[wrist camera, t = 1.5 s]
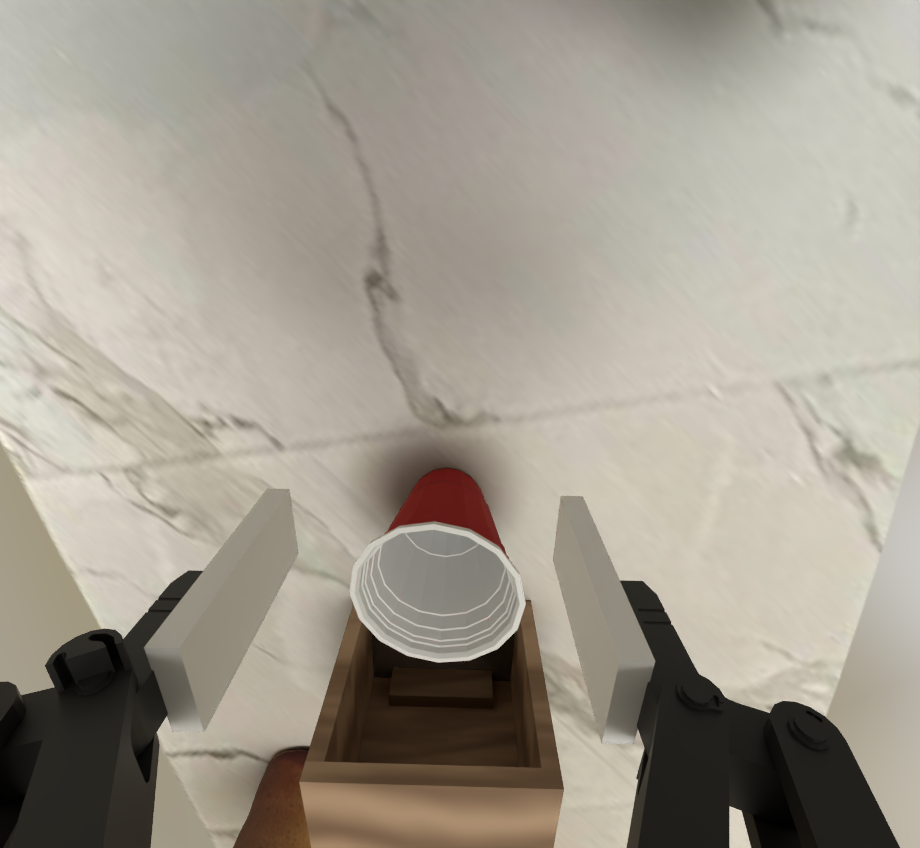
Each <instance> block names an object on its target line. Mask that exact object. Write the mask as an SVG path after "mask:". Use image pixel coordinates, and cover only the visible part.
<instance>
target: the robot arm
mask: <svg viewBox="0 0 920 848" xmlns="http://www.w3.org/2000/svg"><path fill="white" fill-rule="evenodd" d="M297 555H298V546H297V539H296V532H295V525H294V518H293V511H292V504H291V497H290V490H289V489H267V490H266V491H265V493H264V494H263V495H262V496H261V498H260V499H259V500H258V502H257V503H256V504H255V505H254V507H253V508H252V509H251V511H250V512H249V513H248V514H247V516H246V517H245V518H244V520H243V521H242V522H241V523H240V525H239V526H238V527H237V529H236V530H235V531H234V532H233V534H232V535H231V536H230V538H229V539H228V540H227V541H226V543H225V544H224V545H223V547H222V548H221V549H220V550H219V552H218V553H217V554H216V556H215V557H214V558H213V559H212V561H211V562H210V563H209V565H208V566H207V567H206V568H205V570H204V571H187V572H186V573H184V574H183V575H182V576H180V577H179V578H177V579H176V580H174V581H173V582H172V583H170V585H169V586H168V587H167V588H166V589H165V591H164V592H163V593H162V594H161V595H160V596H159V599H158V600H156V601H155V602H154V604H153V605H152V606H151V607H150V608H149V611H148V613H145V614H144V615H143V617H142V618H141V619H140V620H139V621H138V623H137V624H136V625H135V626H134V627H133V628H132V630H131V631H130V632H129V633H128V634H127V636H126V637H125V638H124V639H123V638H122V636H121V634H120V633H118V632H117V631H116V630H111V629H100V630H94V631H90V632H88V633H85V634H82V635H80V636H77V637H75V638H74V639H72V640H70V641H69V642H67V643H65V644H64V645H62V646H61V647H60V648H59V649H58V650H57V651H56V652H54V653H53V654H52V655H51V657H50V658H49V660H48V662H47V663H46V665H45V667H46V669H47V671H48V673H49V675H50V678H51V680H52V682H53V684H54V686H55V687H54V688H50V689H46V690H42V691H38V692H34V693H29V694H25V695H21V694H20V692H19V691H18V689H17V687H16V685H14V684H12V683H10V682H0V848H150V847H151V835H152V824H153V812H154V801H155V789H156V778H157V765H158V755H159V740H158V735H157V733H156V732H157V731H158V729H159V727H160V726H161V724H162V723H163V721H164V719H165V718H166V716H167V717H168V720H169V723H170V726H171V729H172V732H205V730H206V728H207V726H208V724H209V722H210V720H211V719H212V717H213V715H214V713H215V711H216V709H217V707H218V705H219V703H220V701H221V700H222V698H223V696H224V694H225V692H226V690H227V688H228V686H229V684H230V682H231V681H232V679H233V677H234V675H235V673H236V671H237V669H238V667H239V665H240V663H241V661H242V660H243V658H244V656H245V654H246V652H247V650H248V648H249V646H250V644H251V642H252V641H253V639H254V637H255V635H256V633H257V631H258V629H259V627H260V625H261V623H262V621H263V620H264V618H265V616H266V614H267V612H268V610H269V608H270V606H271V604H272V602H273V601H274V599H275V597H276V595H277V593H278V591H279V589H280V587H281V585H282V583H283V582H284V580H285V578H286V576H287V574H288V572H289V570H290V568H291V566H292V564H293V562H294V561H295V559H296V557H297ZM553 562H554V565H555V569H556V573H557V577H558V580H559V584H560V588H561V592H562V596H563V599H564V603H565V607H566V611H567V614H568V618H569V622H570V626H571V630H572V633H573V637H574V641H575V645H576V648H577V652H578V656H579V660H580V664H581V667H582V671H583V675H584V679H585V682H586V686H587V690H588V694H589V697H590V701H591V705H592V709H593V713H594V716H595V720H596V724H597V728H598V731H599V735H600V739H601V743H612V744H634V741H635V737H636V733H637V729H638V730H639V733H640V736H641V739H642V742H643V744H644V747H645V749H644V752H643V756H642V759H641V763H640V767H639V770H638V774H637V778H636V779H638V784H637V790H636V796H635V802H634V808H633V814H632V820H631V826H630V832H629V838H628V843H627V848H729V806H731V807H734V808H736V809H739V810H742V813H743V817H744V821H745V825H746V828H747V832H748V836H749V840H750V844H751V848H900V847H899V845H898V843H897V841H896V839H895V837H894V835H893V833H892V831H891V829H890V827H889V825H888V823H887V821H886V819H885V817H884V815H883V813H882V811H881V809H880V807H879V805H878V803H877V801H876V799H875V797H874V795H873V793H872V792H871V789H870V787H869V785H868V783H867V781H866V779H865V777H864V775H863V773H862V772H861V769H860V767H859V766H858V764H857V762H856V759H855V757H854V755H853V753H852V751H851V750H850V747H849V745H848V743H847V742H846V740H845V738H844V737H843V736H842V734H841V733H840V731H839V730H838V728H837V727H836V726H834V725H833V724H832V723H831V722H830V721H829V720H828V719H827V718H826V717H825V716H823V715H822V714H820V713H818V712H817V711H815V710H814V709H812V708H810V707H808V706H805V705H802V704H800V703H797V702H789V701H782V702H780V703H777V704H774V706H773V708H772V710H771V712H770V713H767V712H764V711H761V710H758V709H755V708H751V707H748V706H745V705H742V704H739V703H736V702H734V701H731V700H729V699H727V698H725V697H724V695H723V694H722V692H721V691H720V689H719V688H718V687H717V686H715V685H714V684H713V683H712V682H711V681H710V680H709V679H707V678H705V677H703V676H701V675H699V673H698V672H697V670H696V668H695V666H694V665H693V663H692V661H691V659H690V657H689V655H688V653H687V651H686V649H685V647H684V646H683V644H682V642H681V640H680V638H679V636H678V634H677V632H676V630H675V628H674V627H673V625H671V621H670V619H669V617H668V615H667V613H666V612H665V611H664V610H665V609H664V608H663V606H662V604H661V602H660V600H659V598H658V596H657V594H656V593H655V592H653V591H652V590H651V589H650V588H649V587H648V586H647V585H646V584H645V583H644V582H643V581H620V580H619V578H618V575H617V573H616V571H615V569H614V566H613V564H612V562H611V560H610V557H609V555H608V553H607V550H606V548H605V546H604V544H603V541H602V539H601V537H600V535H599V532H598V530H597V528H596V526H595V523H594V521H593V519H592V516H591V514H590V512H589V510H588V507H587V505H586V503H585V501H584V498H583V497H582V496H561V499H560V507H559V515H558V523H557V531H556V539H555V547H554V555H553Z"/></svg>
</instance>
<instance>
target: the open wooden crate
mask: <svg viewBox="0 0 920 848" xmlns="http://www.w3.org/2000/svg"><path fill="white" fill-rule="evenodd" d="M525 602H526V605H525V608H524V611H523V614H522V617H521V620H520V624H519V627H518V630H517V631H516V632H515V636H514V647H513V658H512V668H511V679H510V681H492V670H461V669H425V668H393V672H392V678H374V665H373V651H372V636H371V631H370V630H369V629H368V628H367V627H366V626H365V625H364V624H363V623H362V622H361V620H360V619H359V617H358V615H357V612H356V609H355V607H354V604H353V607H352V610H351V614H350V617H349V620H348V623H347V627H346V630H345V633H344V637H343V640H342V643H341V646H340V650H339V653H338V656H337V660H336V663H335V666H334V669H333V673H332V676H331V679H330V682H329V686H328V689H327V692H326V696H325V699H324V702H323V705H322V709H321V712H320V715H319V719H318V722H317V725H316V728H315V732H314V735H313V738H312V742H311V745H310V748H309V751H308V755H307V758H306V761H305V765H304V768H303V771H302V774H301V778H300V781H299V783H300V789H301V794H302V800H303V805H304V811H305V816H306V822H307V827H308V833H309V838H310V843H311V848H553V847H554V841H555V836H556V830H557V825H558V819H559V814H560V808H561V803H562V797H563V792H564V787H563V781H562V776H561V770H560V764H559V759H558V753H557V747H556V742H555V736H554V730H553V724H552V719H551V713H550V707H549V702H548V696H547V690H546V685H545V679H544V673H543V668H542V662H541V656H540V651H539V645H538V639H537V634H536V628H535V622H534V616H533V611H532V605H531V601H528V600H525Z"/></svg>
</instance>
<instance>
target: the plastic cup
mask: <svg viewBox="0 0 920 848" xmlns="http://www.w3.org/2000/svg"><path fill="white" fill-rule="evenodd" d="M350 596H351V599H352V601H353V604H354V607H355V609H356V612H357V615H358V617H359V619H360V620H361V622H362V623H363V624H364V625H365V626H366V627H367V628H368V629H369V630H370V631H371V632H372V633H373V634H374V636H375V637H376V638H377V639H378V640H379V641H381V642H383V643H384V644H386V645H388V646H390V647H392V648H394V649H395V650H397V651H399V652H401V653H403V654H405V655H406V656H410V657H415V658H419V659H424V660H429V661H433V662H438V663H440V662H455V661H469V660H472V659H475V658H477V657H480V656H482V655H485V654H487V653H489V652H492V651H494V650H497V649H498V648H499V647H500V646H501V645H502V644H503V643H504V642H505V641H506V640H507V639H508V638H510V637H511V636H512V635H513V634H514V633H515V632H516V631H517V630H518V627H519V624H520V620H521V617H522V614H523V611H524V608H525V605H526V602H525V597H524V592H523V587H522V582H521V577H520V574H519V572H518V570H517V569H516V568H515V567H514V565H513V564H512V563H511V561H510V560H509V557H508V556H507V555H506V552H505V549H504V546H503V545H502V544H501V541H500V538H499V535H498V532H497V530H496V527H495V524H494V521H493V518H492V516H491V513H490V510H489V507H488V505H487V504H486V502H485V500H484V497H483V494H482V492H481V489H480V488H479V487H478V485H477V484H476V483H475V481H474V480H473V479H472V477H471V476H469V475H467V474H465V473H464V472H462V471H460V470H456V469H450V468H443V469H437V470H433V471H431V472H430V473H428V474H426V475H425V476H423V477H422V478H421V479H420V480H419V481H418V483H417V484H416V485H415V487H414V488H413V490H412V491H411V493H410V495H409V497H408V499H407V500H406V501H405V503H404V504H403V506H402V507H401V509H400V511H399V512H398V514H397V516H396V517H395V519H394V521H393V522H392V524H391V526H390V527H389V529H388V531H387V532H386V533H385V534H384V535H382V536H380V537H378V538H377V539H375V540H373V541H372V542H371V543H370V544H369V545H368V546H367V548H366V549H365V550H364V552H363V553H362V554H361V556H360V557H359V559H358V560H357V561H356V563H355V564H354V565H353V568H352V576H351V584H350Z"/></svg>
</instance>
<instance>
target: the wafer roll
mask: <svg viewBox="0 0 920 848" xmlns="http://www.w3.org/2000/svg"><path fill="white" fill-rule="evenodd" d="M307 755H308V751H307V750H293V751H285V752H282V753H280V754H278V755H277V756H275V757H274V758H273V759H272V760H271V762H270V763H269V765H268V767H267V769H266V771H265V773H264V776H263V778H262V780H261V783H260V785H259V787H258V790H257V792H256V795H255V798H254V801H253V804H252V807H251V810H250V813H249V815H248V818H247V820H246V822H245V824H244V825H243V827H242V829H241V831H240V833H239V836H238V838H237V840H236V842H235V845H234V847H233V848H311V843H310V838H309V833H308V827H307V822H306V816H305V811H304V805H303V800H302V794H301V789H300V783H299V781H300V778H301V774H302V771H303V768H304V765H305V761H306V758H307Z"/></svg>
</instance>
